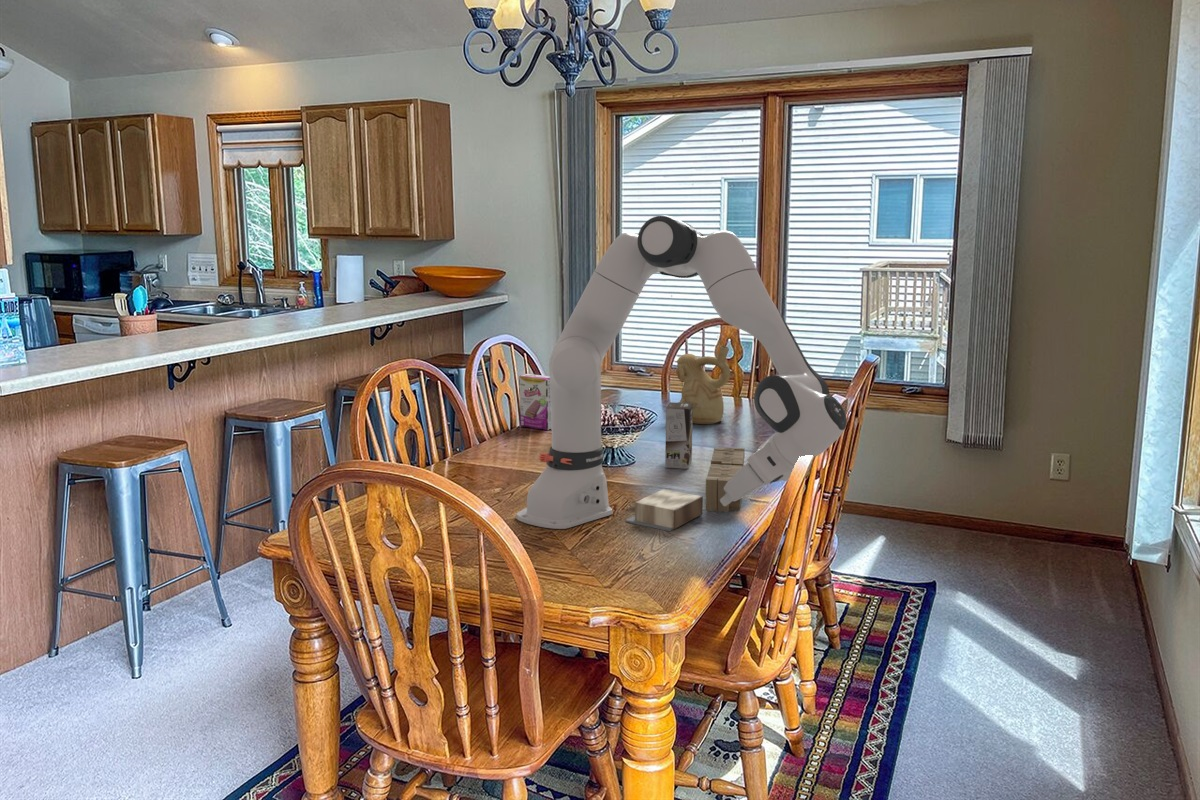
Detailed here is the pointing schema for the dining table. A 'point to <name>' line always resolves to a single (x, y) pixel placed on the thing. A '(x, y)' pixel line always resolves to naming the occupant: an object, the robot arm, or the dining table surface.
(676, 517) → the maple block
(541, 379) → the candy bar box
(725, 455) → the block tower
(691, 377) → the ceramic vessel
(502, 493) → the dining table surface
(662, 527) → the mat
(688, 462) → the coffee box
